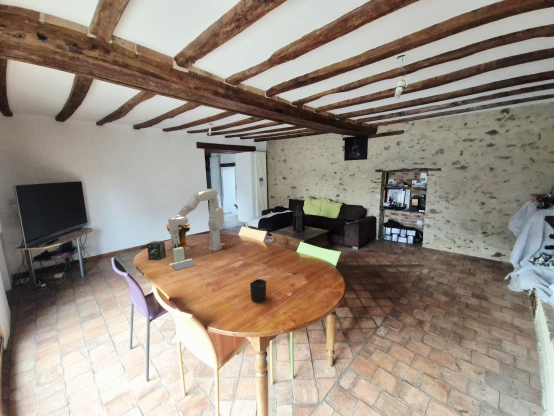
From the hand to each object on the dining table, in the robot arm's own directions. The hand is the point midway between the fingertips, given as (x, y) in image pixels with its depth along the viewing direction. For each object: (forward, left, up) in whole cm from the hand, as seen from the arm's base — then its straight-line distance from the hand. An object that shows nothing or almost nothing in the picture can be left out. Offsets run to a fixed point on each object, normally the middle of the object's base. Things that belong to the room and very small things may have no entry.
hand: (175, 251), depth 198 cm
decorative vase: (-11, -25, -7) cm, 28 cm away
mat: (0, +20, -7) cm, 21 cm away
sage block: (0, +8, -7) cm, 11 cm away
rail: (0, +13, -7) cm, 14 cm away
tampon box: (+12, -15, -7) cm, 20 cm away
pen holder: (-17, +100, -7) cm, 102 cm away
